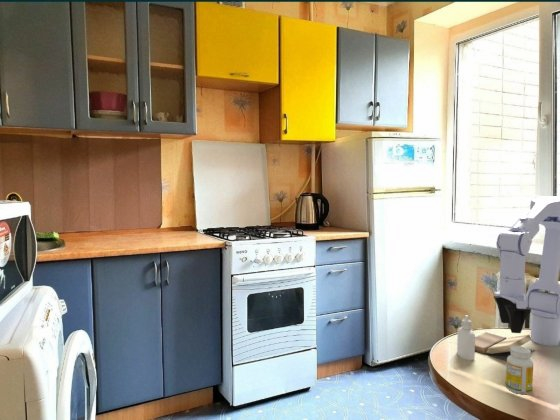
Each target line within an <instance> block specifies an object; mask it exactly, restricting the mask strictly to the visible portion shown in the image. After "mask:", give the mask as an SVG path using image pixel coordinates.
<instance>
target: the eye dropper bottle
mask: <svg viewBox="0 0 560 420" xmlns="http://www.w3.org/2000/svg"><path fill="white" fill-rule="evenodd" d="M469 318H470V317H469V315H466V314H465V316H464V318H463V319H462V320H461V327H459V328H458V329H457V339H456V340H457V341H456V342H457V343H456V345H457V346H456V347H457V348H456V354H457V355H458V357H459V358H461V359H464V360H466V361H475V356H476V355H475V353H476V351H475V337H476V335H475V333H474V330H472V324H473V323H472V320H471V319H469Z"/></svg>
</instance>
